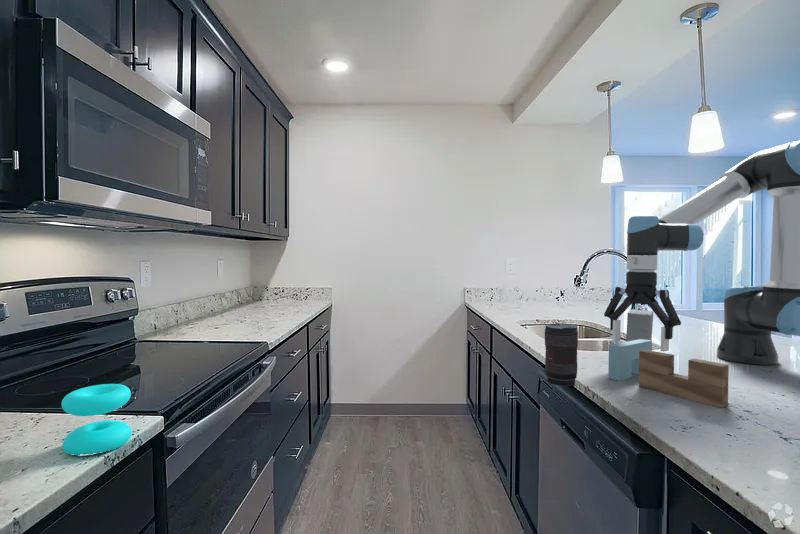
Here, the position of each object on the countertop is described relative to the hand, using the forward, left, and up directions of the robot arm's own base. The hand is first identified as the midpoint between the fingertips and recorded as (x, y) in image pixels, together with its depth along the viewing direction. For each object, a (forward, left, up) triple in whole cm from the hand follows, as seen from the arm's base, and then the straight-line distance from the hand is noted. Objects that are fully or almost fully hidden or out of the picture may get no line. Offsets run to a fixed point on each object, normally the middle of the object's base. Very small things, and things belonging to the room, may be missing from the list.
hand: (639, 346), depth 122 cm
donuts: (+127, -26, -8) cm, 129 cm away
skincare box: (-12, -7, -8) cm, 16 cm away
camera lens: (+27, -6, -8) cm, 28 cm away
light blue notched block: (+5, 0, -7) cm, 9 cm away
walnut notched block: (+12, +16, -7) cm, 21 cm away
